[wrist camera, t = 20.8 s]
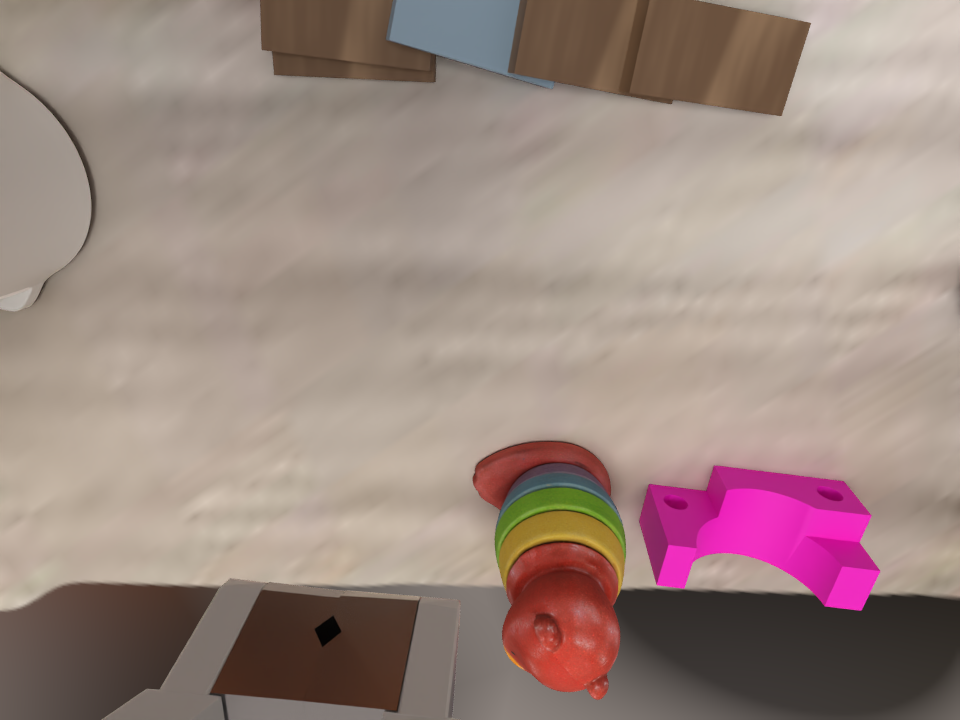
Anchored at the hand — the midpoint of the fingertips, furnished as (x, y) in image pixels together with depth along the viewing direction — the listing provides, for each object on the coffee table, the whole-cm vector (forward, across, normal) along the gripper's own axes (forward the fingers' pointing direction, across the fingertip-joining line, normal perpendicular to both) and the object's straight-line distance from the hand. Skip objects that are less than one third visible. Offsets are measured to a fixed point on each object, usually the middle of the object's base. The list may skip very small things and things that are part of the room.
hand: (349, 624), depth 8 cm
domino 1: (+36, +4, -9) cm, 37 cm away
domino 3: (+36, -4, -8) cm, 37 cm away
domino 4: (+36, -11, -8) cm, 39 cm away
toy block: (+38, -22, +24) cm, 50 cm away
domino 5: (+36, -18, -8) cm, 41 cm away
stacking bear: (+37, -7, +24) cm, 45 cm away
